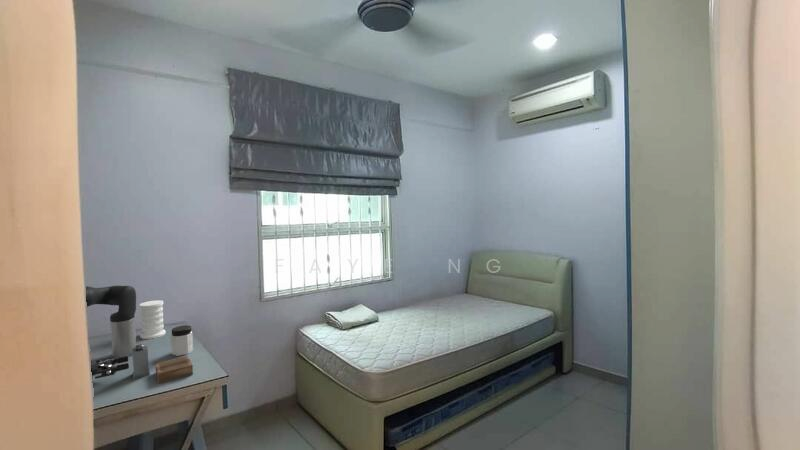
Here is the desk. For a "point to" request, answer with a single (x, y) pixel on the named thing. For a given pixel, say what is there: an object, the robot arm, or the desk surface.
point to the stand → (173, 369)
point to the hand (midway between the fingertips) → (128, 362)
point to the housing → (140, 361)
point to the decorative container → (152, 319)
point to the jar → (181, 340)
